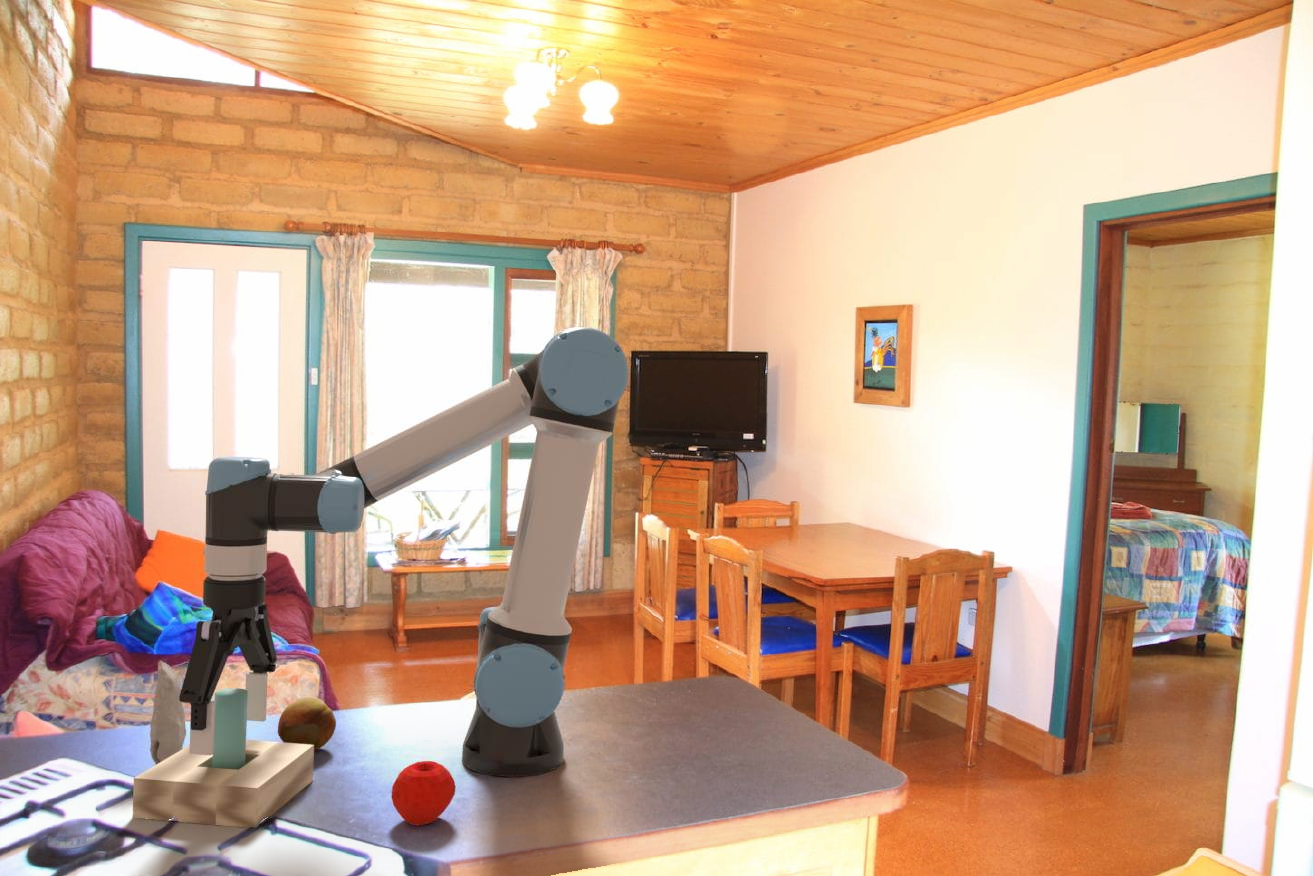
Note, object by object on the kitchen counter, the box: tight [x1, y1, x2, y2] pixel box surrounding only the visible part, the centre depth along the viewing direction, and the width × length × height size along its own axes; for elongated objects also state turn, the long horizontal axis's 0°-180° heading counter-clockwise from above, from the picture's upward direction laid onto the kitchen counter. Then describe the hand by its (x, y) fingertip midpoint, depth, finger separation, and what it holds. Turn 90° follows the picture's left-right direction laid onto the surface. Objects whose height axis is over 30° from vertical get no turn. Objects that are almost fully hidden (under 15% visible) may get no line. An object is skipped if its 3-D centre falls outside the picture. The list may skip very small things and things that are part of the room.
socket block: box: [132, 739, 315, 829], centre depth 130 cm, size 16×16×5 cm
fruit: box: [277, 696, 337, 752], centre depth 149 cm, size 8×8×8 cm
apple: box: [391, 760, 457, 826], centre depth 126 cm, size 8×8×7 cm
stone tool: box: [149, 660, 187, 765], centre depth 140 cm, size 9×3×15 cm, turn 8°
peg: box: [212, 687, 248, 770], centre depth 130 cm, size 4×4×14 cm
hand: (229, 736), depth 130 cm, fingers open, 13 cm apart
